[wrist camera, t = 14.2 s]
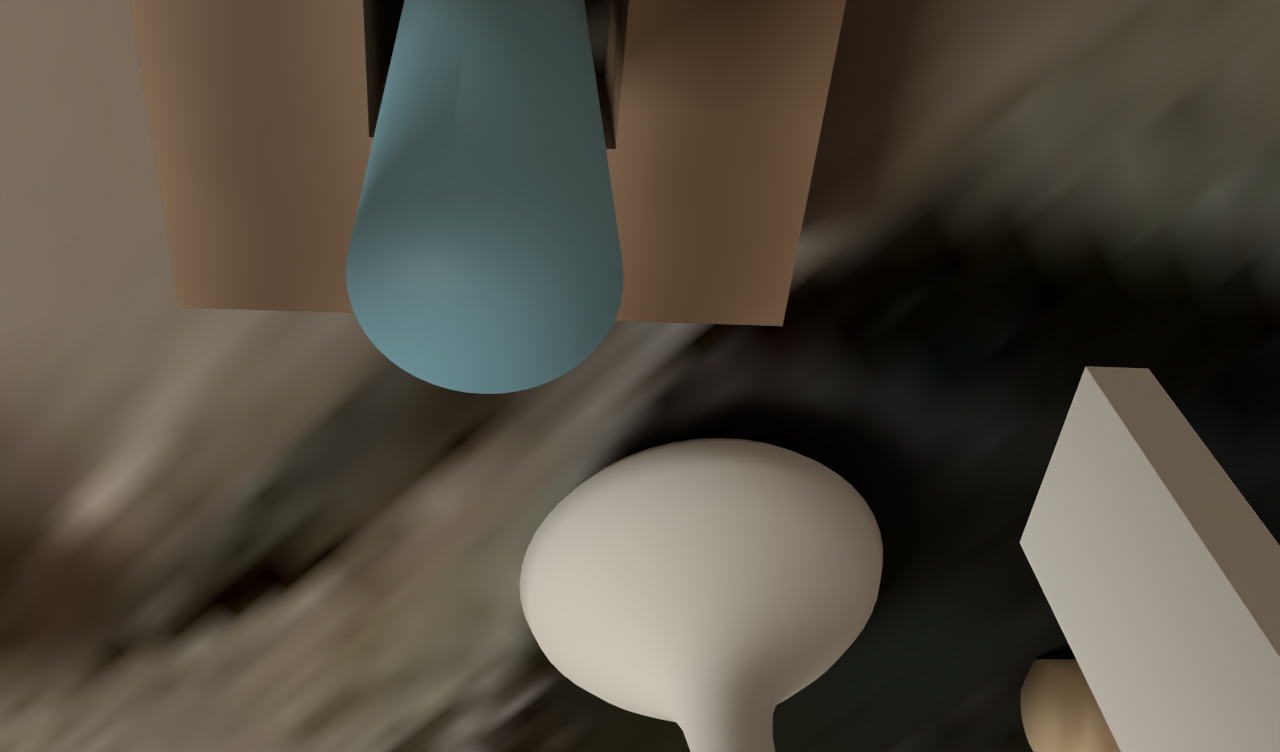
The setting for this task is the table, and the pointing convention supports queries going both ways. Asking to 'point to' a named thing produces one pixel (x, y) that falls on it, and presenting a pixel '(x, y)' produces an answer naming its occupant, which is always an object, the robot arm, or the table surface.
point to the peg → (488, 199)
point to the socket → (348, 113)
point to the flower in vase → (703, 584)
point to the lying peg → (1063, 710)
